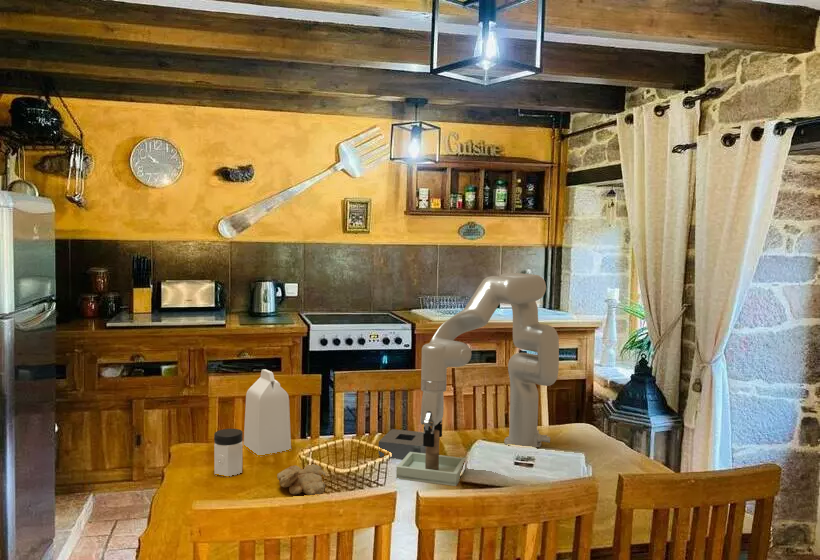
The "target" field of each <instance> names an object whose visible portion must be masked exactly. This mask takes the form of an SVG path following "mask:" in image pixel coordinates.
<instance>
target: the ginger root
mask: <svg viewBox="0 0 820 560" xmlns="http://www.w3.org/2000/svg"><path fill="white" fill-rule="evenodd" d="M303 468H304V469H303ZM303 468H301V467H300V466H298V465H291V466H289V467H287V468H285V469H283V470H282V471H280V472H278V473H277V476H276V478H277V480H278V482H279V486H280V487H283V488H288V487H289V488H288V489H289V490H288V491H289V494H291V495H293V496H294V495H299V494H301V493H304V494H306V495H307V496H310V495H315V494H319V495H321V493H322V494H323V492H325V488H326V483H325V481H324V482H322V477H321V475H322V474H323V475H324V476H326V475H327V474H326V472H324V470H323V469H322V467H321V465H320V466H318V465H315V464H312V465H309V463H308V464H307V465H306V466H305V467H303Z"/></svg>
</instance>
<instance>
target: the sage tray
mask: <svg viewBox="0 0 820 560" xmlns="http://www.w3.org/2000/svg"><path fill="white" fill-rule="evenodd" d="M425 458H426V454H425V453H417V452H409V453H408V454H407V455H406V457H405V458H404V459H401V461H400V462H399V464H397V466H396V470H395V471H396V477H395V478H396V479H397V478H399V479H398V480H405V481H414V482H421V483H428V484H429V483H430V484H436V485H437V484H438V485H445V486H446V485H447V486H453V487H454V486H455V487H457V486H458V484H459V482H460V480H461V479H460V472H461V469H462V466H463V463H464V461H465V459H466V460H467V457H461V456H460V457H459V456H450V455H442V454H439V470H431V469H425ZM459 479H460V480H459Z"/></svg>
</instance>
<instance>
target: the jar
mask: <svg viewBox="0 0 820 560" xmlns="http://www.w3.org/2000/svg"><path fill="white" fill-rule="evenodd" d="M213 440H214V445H213V447H214V449H213V451H214V452H213V453H214V454H213V456H214V457H213V458H214V460H213V461H214V475H215V474H219V475H224V476H230V477H233V476H232V475H234V476H237V474H238V475H241V474H240V473H243V441H244V431H243V430H241V429H237V428H225V429H220V430H216V431H215V432H214V437H213Z"/></svg>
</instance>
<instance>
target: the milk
mask: <svg viewBox="0 0 820 560" xmlns="http://www.w3.org/2000/svg"><path fill="white" fill-rule="evenodd" d="M244 409H245V410H244V411H245V413H244V431H243V446H244V445H245V446H246V447H248V448H249V449H250V450H252V451H253V452H254V453H256V454H257V455H265V454H270V453H271V454H270V455H273V454H272V453H275V454H278V453H277V452H280V453H283V452H282V451H285V452H287V451H286V450H289V449H291V450H292V440H291V438H292V436H291V418H290V417H291V414H290V413H291V412H290V396H289V393H288V392H287V391H286V390H285V389H284V388H283V387H282V386H281V383H280V382H279V381H278V380H276V379H275V375H274V372H272V370H271V371H270V370H268V369H266V368H265V369H261V372H260V377H259V378H257V380H256V381H255V382H254V383H253V384H252V385H251V386H250V387H249V388H248V389H247V391H246V393H245V408H244ZM289 451H290V450H289ZM254 453H253V454H254ZM265 456H266V455H265Z"/></svg>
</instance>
